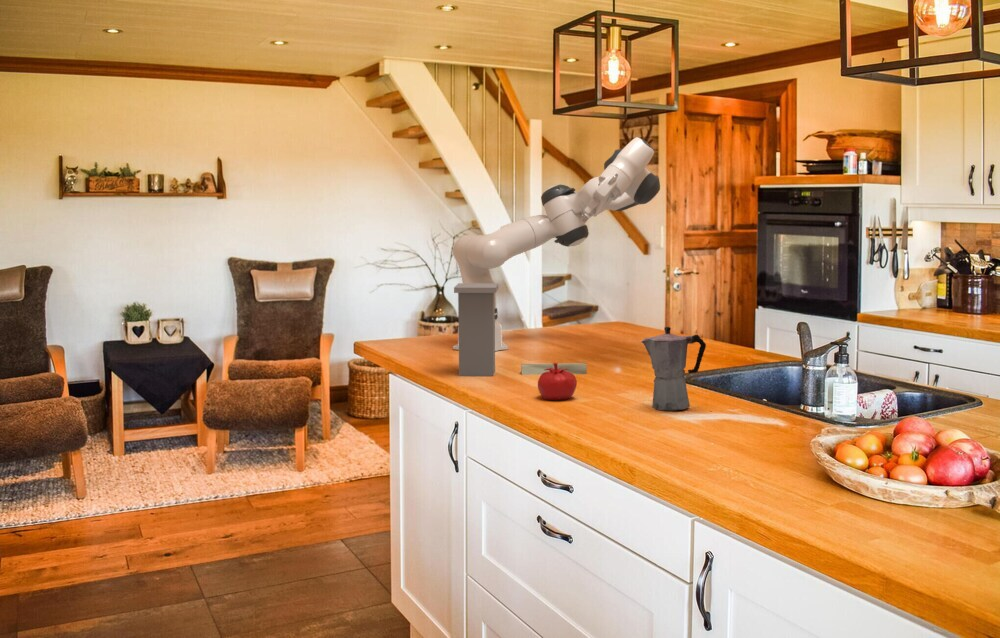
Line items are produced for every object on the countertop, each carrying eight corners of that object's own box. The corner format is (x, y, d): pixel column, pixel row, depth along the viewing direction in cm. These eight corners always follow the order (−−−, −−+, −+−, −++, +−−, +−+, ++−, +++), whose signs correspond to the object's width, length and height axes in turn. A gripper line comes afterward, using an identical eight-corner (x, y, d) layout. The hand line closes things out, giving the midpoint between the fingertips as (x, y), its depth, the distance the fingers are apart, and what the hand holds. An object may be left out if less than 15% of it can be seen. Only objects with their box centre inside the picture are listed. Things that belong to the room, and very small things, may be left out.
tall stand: (459, 368, 285) (458, 283, 282) (498, 368, 284) (498, 283, 281) (455, 377, 271) (454, 287, 268) (496, 377, 271) (496, 287, 267)
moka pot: (639, 403, 235) (640, 324, 233) (701, 404, 234) (703, 324, 231) (641, 411, 226) (642, 329, 223) (706, 412, 224) (708, 329, 222)
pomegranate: (579, 402, 238) (579, 366, 236) (539, 402, 237) (540, 366, 235) (572, 393, 247) (573, 359, 246) (535, 394, 247) (535, 359, 245)
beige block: (521, 373, 278) (521, 363, 278) (585, 373, 279) (585, 363, 278) (521, 375, 275) (521, 365, 274) (586, 375, 275) (586, 365, 275)
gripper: (626, 178, 269) (596, 214, 267) (616, 198, 289) (588, 232, 288) (609, 165, 270) (579, 200, 268) (600, 186, 290) (572, 219, 288)
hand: (584, 217), depth 278 cm, fingers open, 8 cm apart
